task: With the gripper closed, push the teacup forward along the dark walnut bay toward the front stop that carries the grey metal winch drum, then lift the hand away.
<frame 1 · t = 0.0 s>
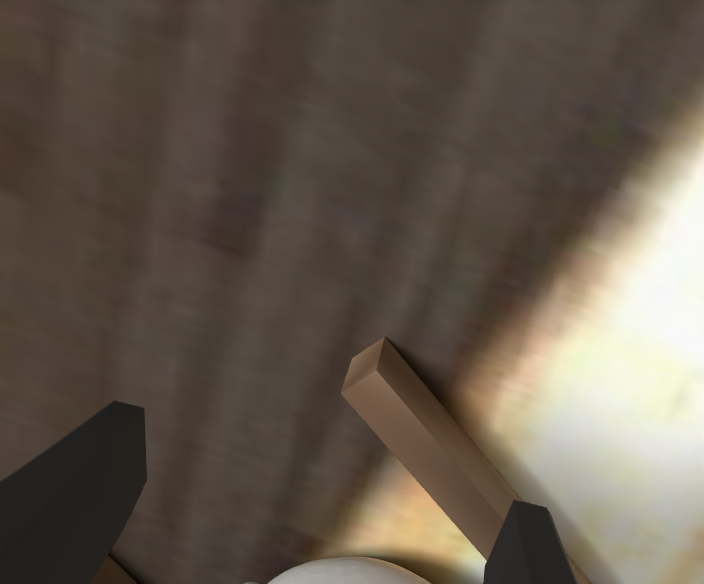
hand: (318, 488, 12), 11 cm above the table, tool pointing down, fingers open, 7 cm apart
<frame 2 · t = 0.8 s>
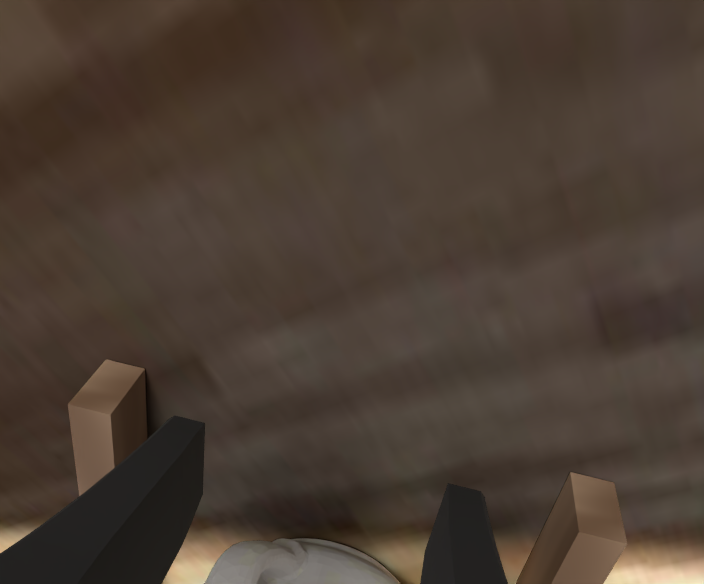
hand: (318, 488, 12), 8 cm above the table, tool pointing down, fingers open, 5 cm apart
teacup: (324, 558, 27), on the table
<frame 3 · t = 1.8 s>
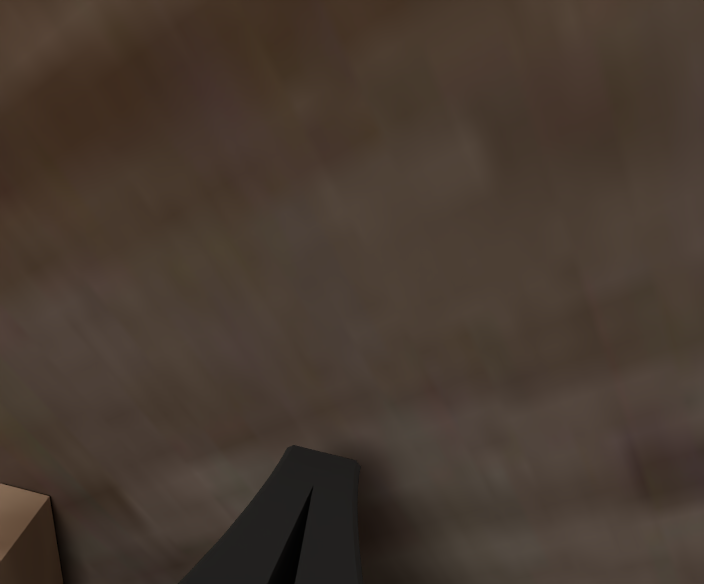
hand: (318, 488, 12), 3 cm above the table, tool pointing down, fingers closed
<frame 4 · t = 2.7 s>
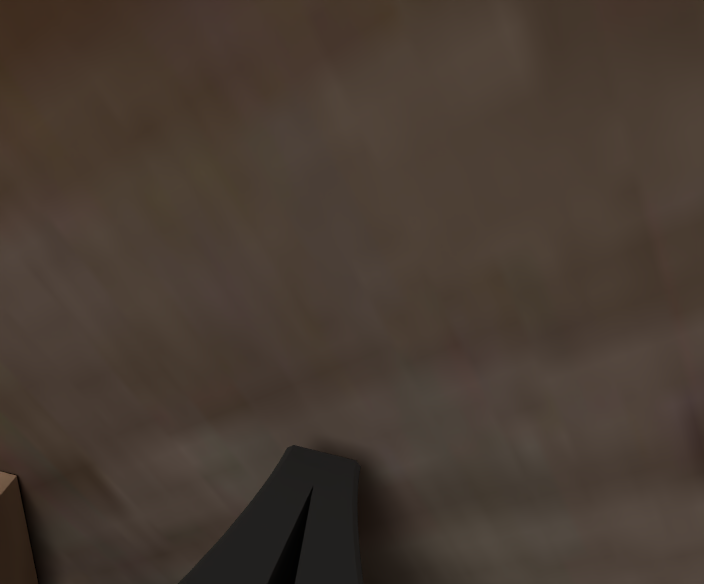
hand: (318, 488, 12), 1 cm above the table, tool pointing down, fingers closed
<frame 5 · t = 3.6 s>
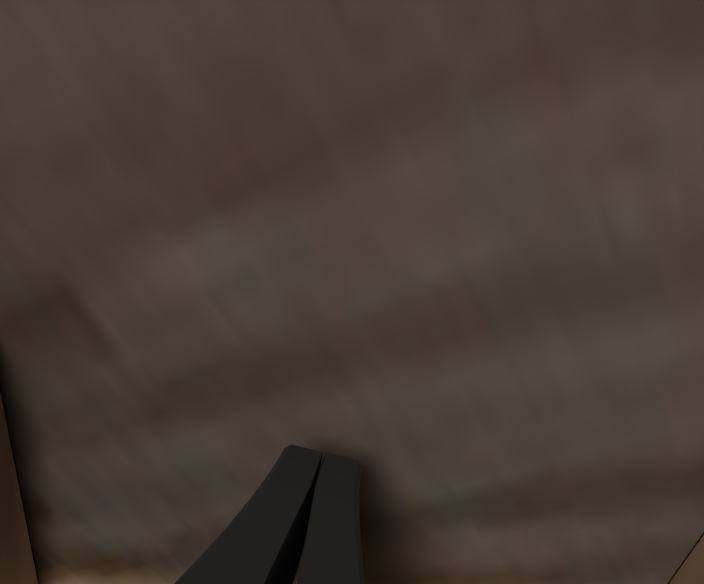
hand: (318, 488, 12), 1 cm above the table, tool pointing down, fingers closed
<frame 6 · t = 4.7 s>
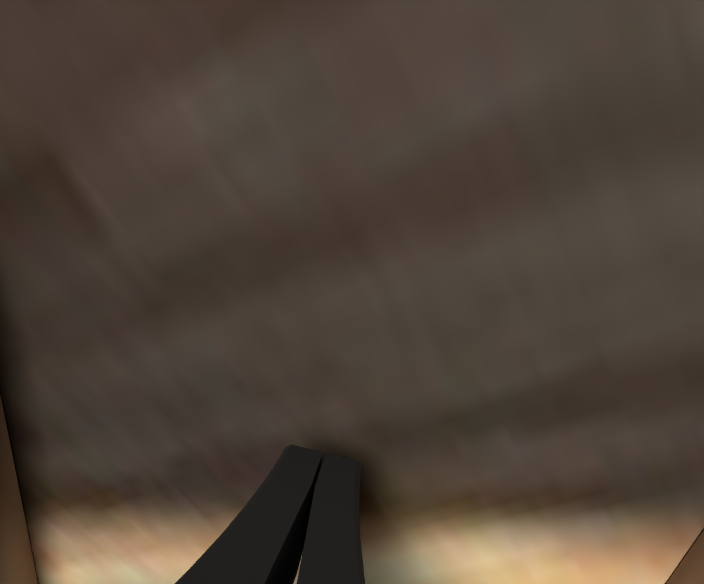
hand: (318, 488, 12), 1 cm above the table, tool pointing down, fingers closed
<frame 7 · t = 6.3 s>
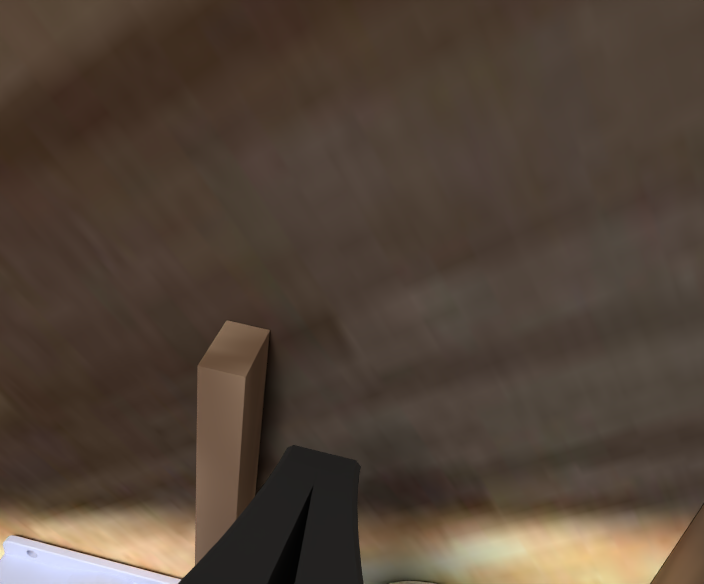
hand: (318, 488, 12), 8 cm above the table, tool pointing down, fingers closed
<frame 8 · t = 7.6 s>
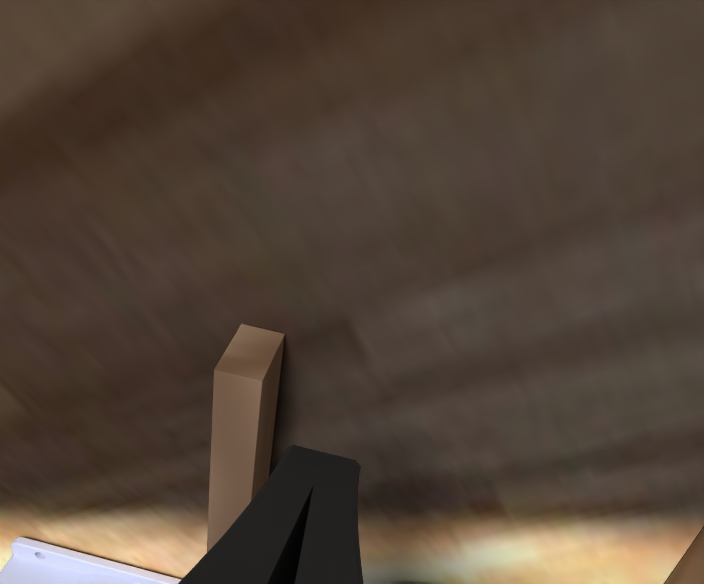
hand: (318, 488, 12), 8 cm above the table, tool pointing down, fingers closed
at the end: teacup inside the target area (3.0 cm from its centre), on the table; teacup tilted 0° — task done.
